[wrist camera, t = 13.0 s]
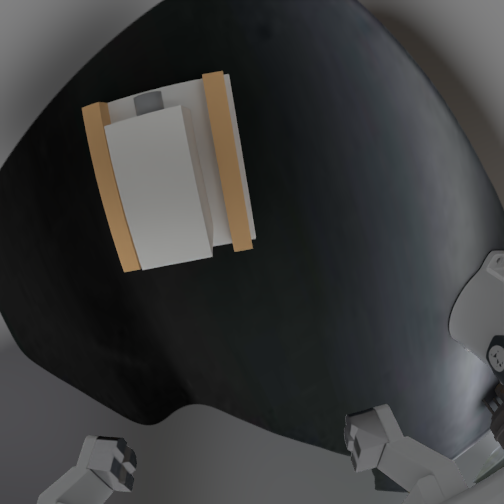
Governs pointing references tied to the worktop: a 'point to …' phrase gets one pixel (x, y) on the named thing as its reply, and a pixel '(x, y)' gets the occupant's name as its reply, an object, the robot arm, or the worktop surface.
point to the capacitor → (498, 416)
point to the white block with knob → (161, 183)
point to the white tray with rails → (210, 154)
